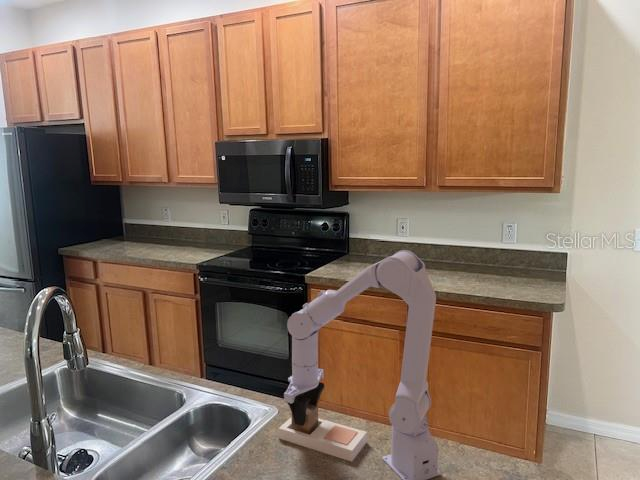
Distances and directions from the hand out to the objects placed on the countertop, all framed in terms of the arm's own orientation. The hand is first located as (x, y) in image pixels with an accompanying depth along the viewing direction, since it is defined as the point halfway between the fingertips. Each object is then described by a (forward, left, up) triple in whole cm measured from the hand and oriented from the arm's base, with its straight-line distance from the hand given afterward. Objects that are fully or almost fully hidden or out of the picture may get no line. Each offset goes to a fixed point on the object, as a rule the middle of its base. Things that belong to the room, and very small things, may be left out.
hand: (304, 419), depth 107 cm
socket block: (-4, -3, -4) cm, 6 cm away
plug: (0, 0, -4) cm, 4 cm away
